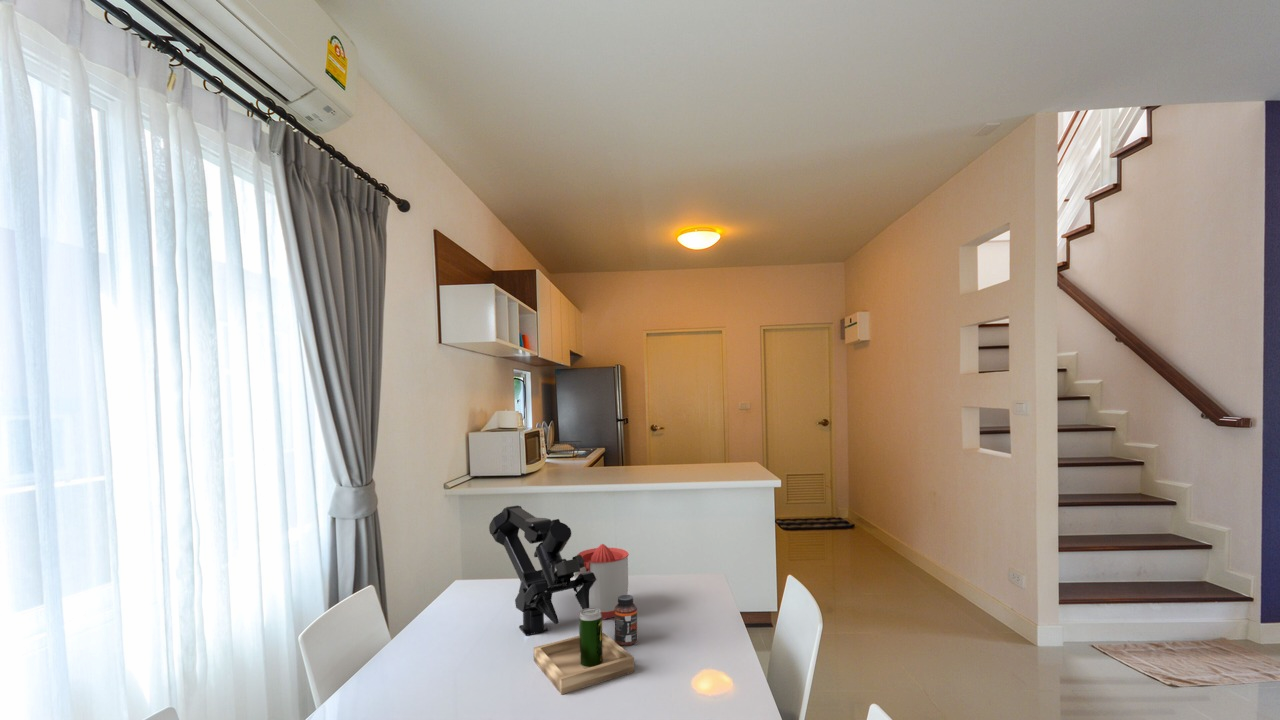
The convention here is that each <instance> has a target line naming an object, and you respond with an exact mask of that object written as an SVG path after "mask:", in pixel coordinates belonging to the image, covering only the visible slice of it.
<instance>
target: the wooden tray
mask: <svg viewBox="0 0 1280 720" xmlns="http://www.w3.org/2000/svg"><path fill="white" fill-rule="evenodd" d="M602 646H603V662H602V664H601V665H597V666H594V667H590V668H587V669H584V668H582V666H581V664H580V636H579V635H577V636H573V637H568V638H565V639H561V640H557V641H553V642H549V643H546V644H542V645H537V646H535V647H533V661H534V663H535V664H536V665H537V666H538V667H539V669H540V670H541V672H542V673H543V674H544V675H545V677H546V678H547V679H548V680H549V681H550V683H552V685H553V686H554V687H555V688H556V690H557V691H558V692H559V693H560V695H564V694H568V693H571V692H575V691H577V690H581V689H584V688H587V687H590V686H594V685H597V684H599V683H603V682H606V680H607V681H610V680H613V679H615V678H619V677H622V676H625V675H629V674H632V673H634V672H635V657H634V656H633V655H631V653H629V652H628V651H626V649H624V648H623V646H621V645H619V644H617V643H616V642H615V640H613V639H612V638H611V637H610V636H608V635H607V634H606V633H605V632H603V631H602Z"/></svg>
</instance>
